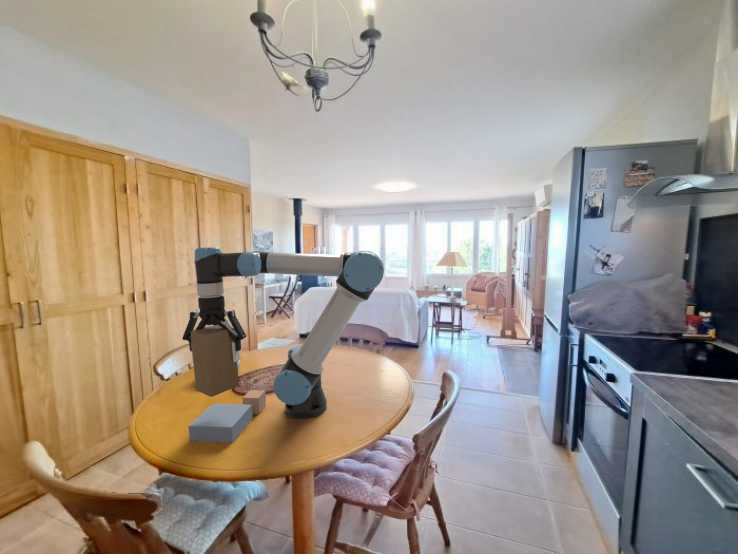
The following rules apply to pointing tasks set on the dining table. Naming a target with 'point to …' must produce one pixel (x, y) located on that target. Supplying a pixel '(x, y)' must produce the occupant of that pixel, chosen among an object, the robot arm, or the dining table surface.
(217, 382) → the wooden block
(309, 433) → the dining table surface
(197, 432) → the plinth
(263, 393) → the terracotta cube
